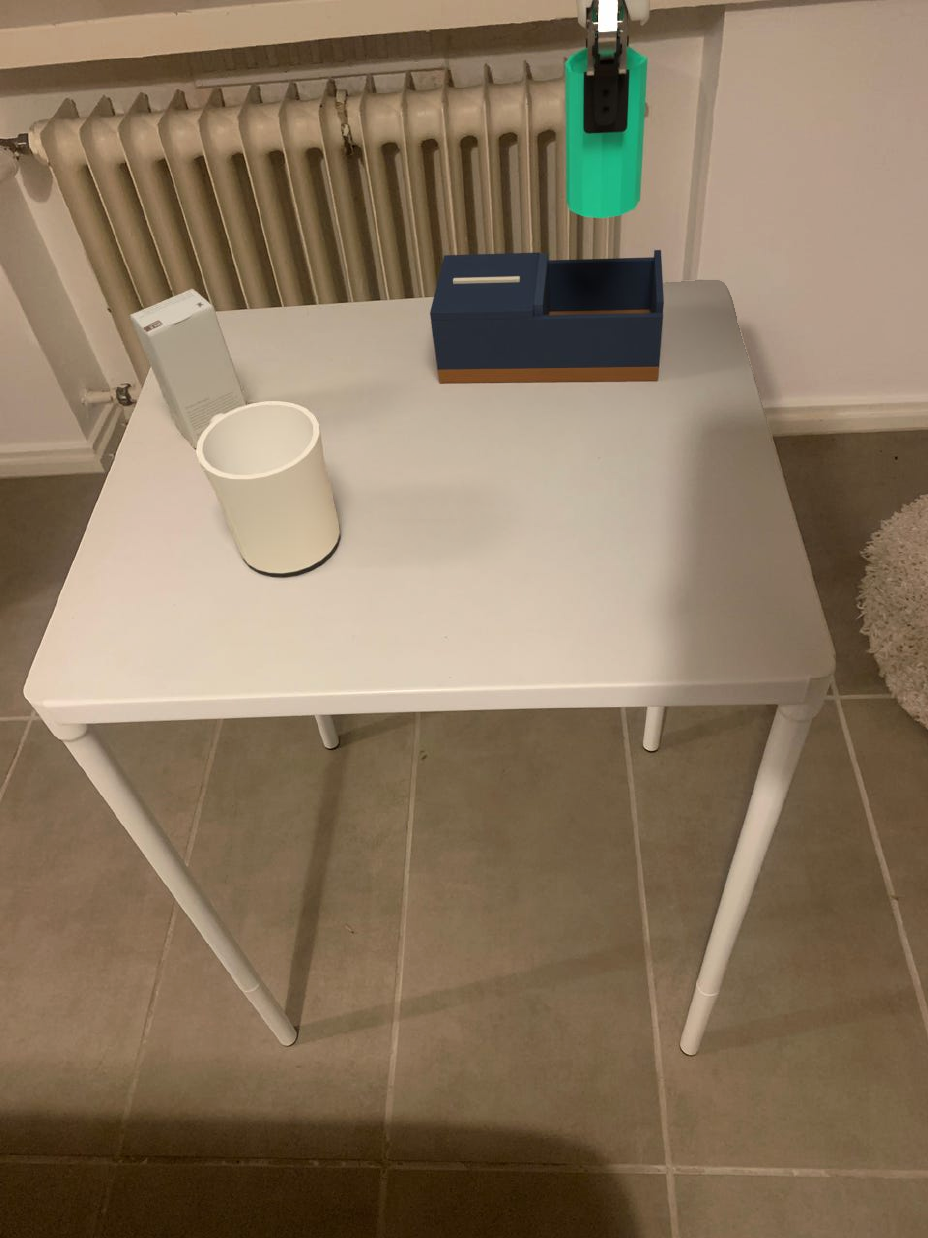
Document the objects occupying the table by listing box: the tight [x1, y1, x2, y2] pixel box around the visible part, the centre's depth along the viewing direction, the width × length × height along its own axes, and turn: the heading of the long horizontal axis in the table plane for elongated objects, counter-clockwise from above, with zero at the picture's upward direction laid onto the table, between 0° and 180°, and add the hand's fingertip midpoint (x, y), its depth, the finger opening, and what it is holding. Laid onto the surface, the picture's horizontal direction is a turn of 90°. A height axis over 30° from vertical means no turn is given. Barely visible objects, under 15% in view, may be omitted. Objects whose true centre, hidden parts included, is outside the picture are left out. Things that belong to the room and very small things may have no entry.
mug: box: [195, 400, 341, 578], centre depth 70 cm, size 11×9×10 cm
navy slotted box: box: [429, 249, 665, 384], centre depth 85 cm, size 20×10×8 cm, turn 84°
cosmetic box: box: [129, 288, 248, 449], centre depth 80 cm, size 6×4×12 cm
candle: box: [564, 45, 649, 219], centre depth 71 cm, size 6×6×12 cm
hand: (605, 109), depth 71 cm, fingers closed on candle, 6 cm apart
